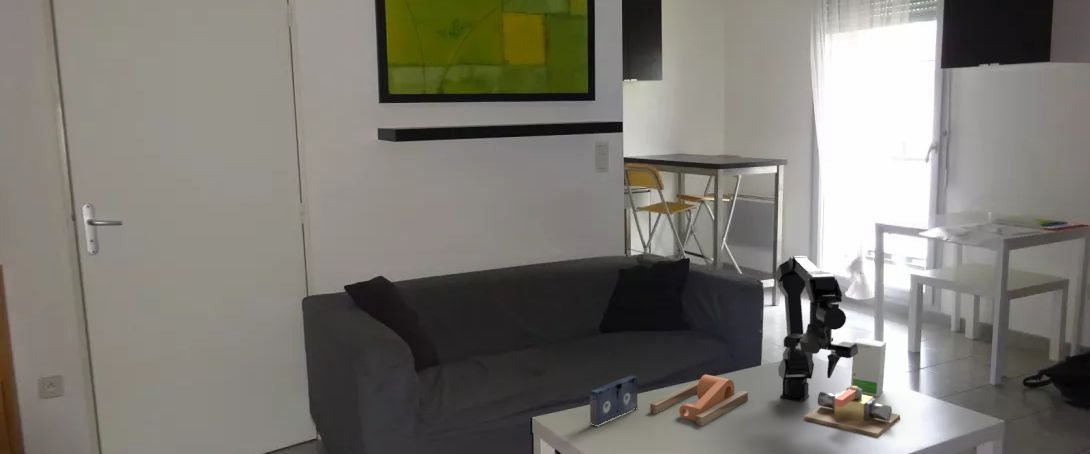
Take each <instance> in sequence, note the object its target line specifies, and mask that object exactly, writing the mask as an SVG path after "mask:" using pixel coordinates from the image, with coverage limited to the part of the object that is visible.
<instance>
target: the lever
mask: <svg viewBox="0 0 1090 454" xmlns="http://www.w3.org/2000/svg"><path fill="white" fill-rule="evenodd" d="M844 391H845V392H844ZM844 391H843V392H844V393H842V394H841V395H839V396H838V397H836V398H835V406H838V407H843V406H845V405H846V404H848V403H849V402H850V401H852V400H853V399H859V398H862V395H863V394H862V389H861V388H859V387H857V386H851V385H850V386H848V387H846V390H844Z"/></svg>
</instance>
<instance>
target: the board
mask: <svg viewBox="0 0 1090 454" xmlns="http://www.w3.org/2000/svg"><path fill="white" fill-rule="evenodd" d="M832 410H833V409H832V408H828V407H823V406H819V405H818V407H816V408H815V409H813V410H811V411H810V412H808V413H806V415H804V417H803V419H804V421H808V422H812V423H816V424H821V425H825V426H830V427H834V428H838V429H841V430H846V431H850V432H854V433H858V434H863V435H867V436H870V437H875V438H879V437H880V436H881V435H882V434H883V433H885V432H886V431H887V430H888V429H889V428H891V427H892V426H893V425H894V424H895V423H897V422H898V421H899V420H900V419H901V414H899V413H898V414H897V413H893V412H892V413H891V418H890V420H889V421H885V420H881V419H877V418H872V419H870V420H869V421H867V420H865V421H859V420H854V419H850V418H846V417H841V416H837V415H834V413H832Z"/></svg>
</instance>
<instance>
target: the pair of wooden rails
mask: <svg viewBox="0 0 1090 454" xmlns="http://www.w3.org/2000/svg"><path fill="white" fill-rule="evenodd" d="M699 381H700V380H696V381H694V382H693V383H690V384H688V385H687V386H683V387H682V388H680V389H678V390H675V391H673V392H672V393H670V394H667V395H665V396H663V397H661V398H659V399H657V400H655V401H653V402H651V403H650V406H649V407H650V408H649V409H650V410H649V411H652V412H655V413H654V414H656V413H657V412H659V411H661V410H663V409H664V410H666V409H668V408H670V407H672V406H675V405H676V404H678V403H680V402H682V401H685V400H686V399H688V398H690V397H692V396H694V395H697V387H698V383H699ZM747 401H749V392H748V391H745V390H741V391H738V392H737V393H734V395H733V396H731V397H729V398H727V399H726V400H724V401H722V402H720V403H718V404H716V405H715V406H713V407H711V408H709V409H707V410H705V411H703V412H702V413H700V414H698V415H696V421H695V425H696V426H697V425H698V426H701V427H702V426H705V425H707V424H708V423H710V422H712V421H714V420H716V419H717V418H719V417H721V416H722V415H724V414H726V413H728V412H729V411H731V410H733V409H734V408H737V407H739V406H740V405H742V404H744V403H745V402H747ZM671 405H672V406H671ZM669 406H670V407H669ZM665 408H666V409H665ZM664 410H663V411H664ZM652 412H651V413H652ZM661 412H662V411H661ZM659 413H660V412H659ZM657 414H658V413H657Z"/></svg>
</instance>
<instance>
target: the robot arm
mask: <svg viewBox="0 0 1090 454" xmlns="http://www.w3.org/2000/svg"><path fill="white" fill-rule="evenodd" d="M775 280H776V282H777V287H778V289H779V291H780V292H781V293H782V295H783V296H784V306H785V323H786V336H785V337H784V338H783V347H784V348H785V349H784V350H783V353H782V360H781V361H780V363H779V366H778V367H777V368H778V369H777V370H778V376H780V378H781V379H782V394H781V393H780V395H779V397H780V398H783V399H786V400H787V399H788V400H792V401H795V402H802V401H803V400H804V399H807V398H809V397H810V394H809V382H808V380H809V379H810V380H812V377H813V372H814V368H815V363H814V360H813V354H818V353H819V352H820V351H821V350H825V351H830V354H828V355H826V356H827V357H826V358H827V359H828V363H827V371H826V373H827V378H828V379H830V378H831V377H832V375H833V373H834V371H835V368H836V367H837V364H838V362H839V361H840V359H841V358H845V359H851V358H853V356H855V355H856V354H858V347H857V345H856V344H855V343H854V342H848V341H841V342H840V343H838V344H837V343H832V342H834V337H833V336H832V331H833V330H835V331H837V330H840V329H841V328H842V327H844V326H845V324H846V321H847V316H846V313H845V312H844V310H842V309H841V308H840V303H842V302H843V299H842V297H843V294H842V291H841V288H840V285H839V282H838V279H837V278H836V277H835V275H834V274H833V273H830V272H828V271H821V270H820V269H819V268H818V267H817V266H816V265H815V264H814V263H813V262H812V261H811V260H810V258H809V257H808V256H806V255H792V256H790V257H789V258H788V260H786V261H784V262H783V263H782V262H781V264H779V265H778V267H777V268H776V271H775ZM805 289H806V293H807V296H808V300H809V302H810V303H809V323H808V324H807V327H806V331H805V333H804V323H803V321H804V320H803V309H802V308H803V307H802V293H803V292H804V290H805Z"/></svg>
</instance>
